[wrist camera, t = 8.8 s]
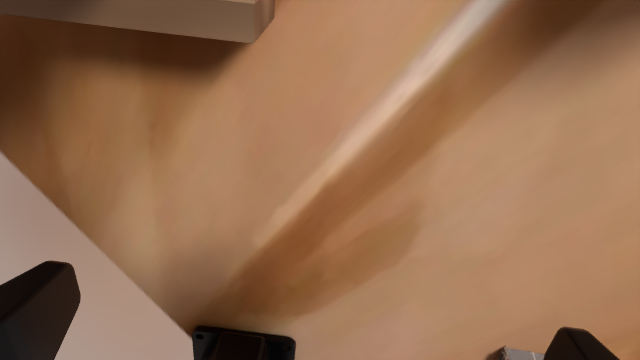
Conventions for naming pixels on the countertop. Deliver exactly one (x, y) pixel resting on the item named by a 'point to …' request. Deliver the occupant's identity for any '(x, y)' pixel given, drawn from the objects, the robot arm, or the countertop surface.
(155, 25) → the slot block
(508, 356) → the house of cards
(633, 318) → the countertop surface
